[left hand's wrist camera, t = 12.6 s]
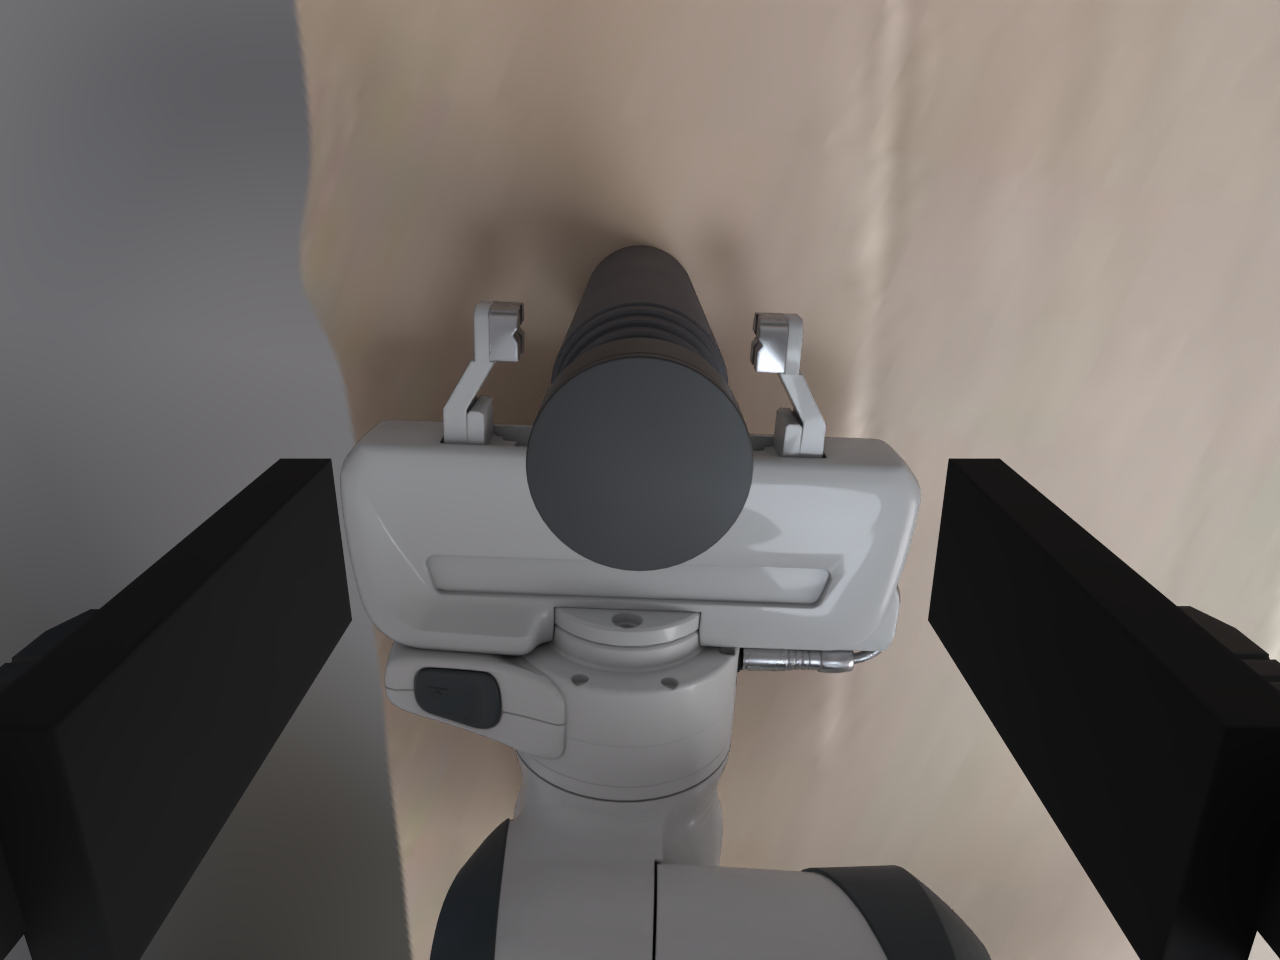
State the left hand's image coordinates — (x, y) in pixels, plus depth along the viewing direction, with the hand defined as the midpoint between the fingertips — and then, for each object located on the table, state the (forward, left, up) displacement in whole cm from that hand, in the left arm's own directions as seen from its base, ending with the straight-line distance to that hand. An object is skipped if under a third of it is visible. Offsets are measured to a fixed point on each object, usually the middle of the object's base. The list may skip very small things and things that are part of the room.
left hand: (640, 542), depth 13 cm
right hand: (-1, 0, -18) cm, 18 cm away
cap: (0, 0, -4) cm, 4 cm away
